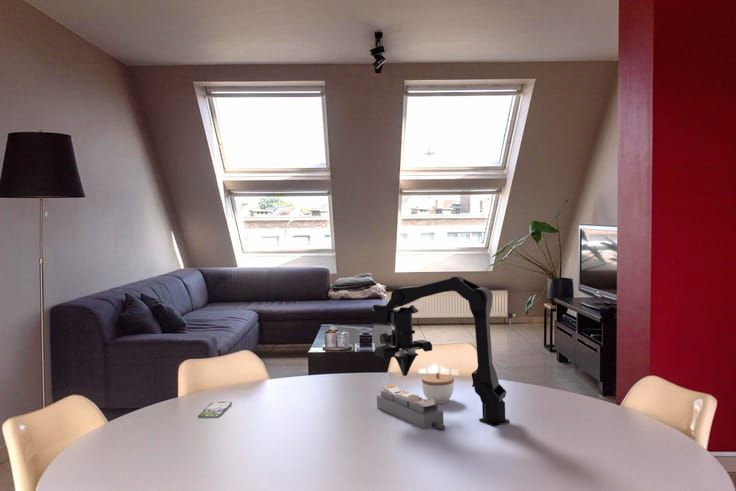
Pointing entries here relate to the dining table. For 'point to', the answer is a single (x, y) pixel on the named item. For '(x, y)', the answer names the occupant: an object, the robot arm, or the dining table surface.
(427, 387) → the lidded jar
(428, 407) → the rocker switch panel
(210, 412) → the smartphone
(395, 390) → the block
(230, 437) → the dining table surface
